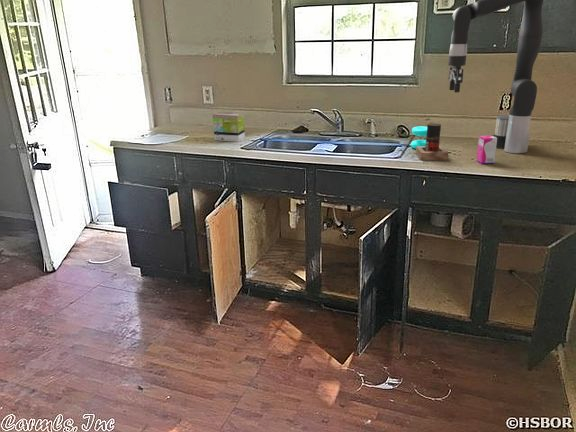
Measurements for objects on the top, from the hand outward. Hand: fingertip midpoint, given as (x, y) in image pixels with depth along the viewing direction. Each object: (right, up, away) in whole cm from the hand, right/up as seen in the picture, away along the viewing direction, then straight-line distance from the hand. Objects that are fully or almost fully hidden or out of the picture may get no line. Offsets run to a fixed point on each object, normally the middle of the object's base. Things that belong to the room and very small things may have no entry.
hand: (454, 91), depth 221 cm
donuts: (-11, -24, +17) cm, 31 cm away
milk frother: (+28, -23, +18) cm, 40 cm away
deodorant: (-11, -31, 0) cm, 33 cm away
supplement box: (+10, -35, -11) cm, 38 cm away
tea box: (-110, -15, +47) cm, 121 cm away
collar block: (-11, -31, 0) cm, 32 cm away
